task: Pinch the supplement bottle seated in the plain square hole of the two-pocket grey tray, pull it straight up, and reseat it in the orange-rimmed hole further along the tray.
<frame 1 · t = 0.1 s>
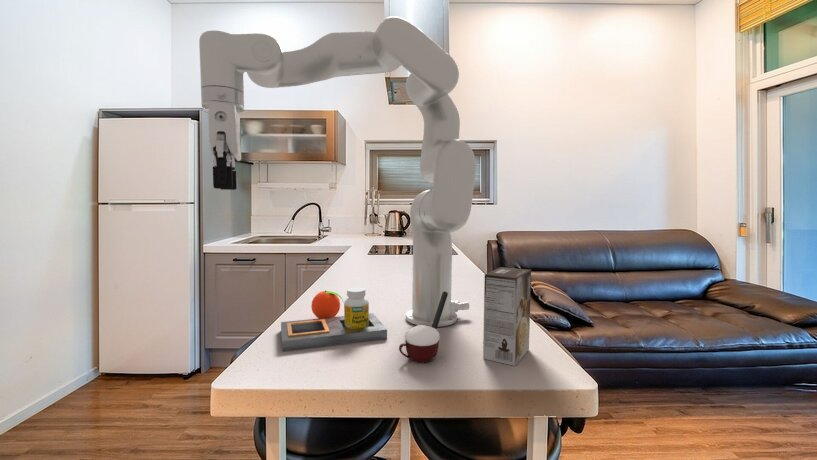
hand: (225, 189, 76), 31 cm above the kitchen island, fingers open, 9 cm apart
two-pocket grey tray: (332, 334, 82), on the kitchen island
supplement bottle: (356, 333, 84), resting in two-pocket grey tray
cocoa: (423, 359, 71), on the kitchen island
coffee box: (506, 355, 73), on the kitchen island
clementine: (328, 320, 93), on the kitchen island
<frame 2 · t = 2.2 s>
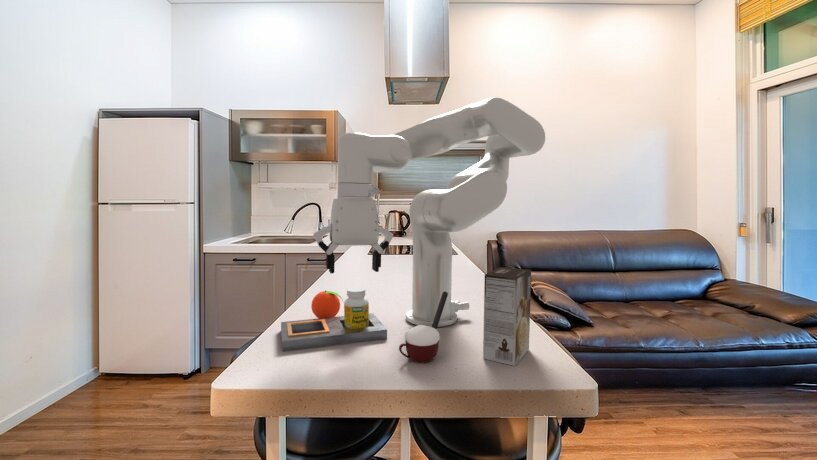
hand: (353, 271, 83), 14 cm above the kitchen island, fingers open, 9 cm apart
nothing on the kitchen island moved.
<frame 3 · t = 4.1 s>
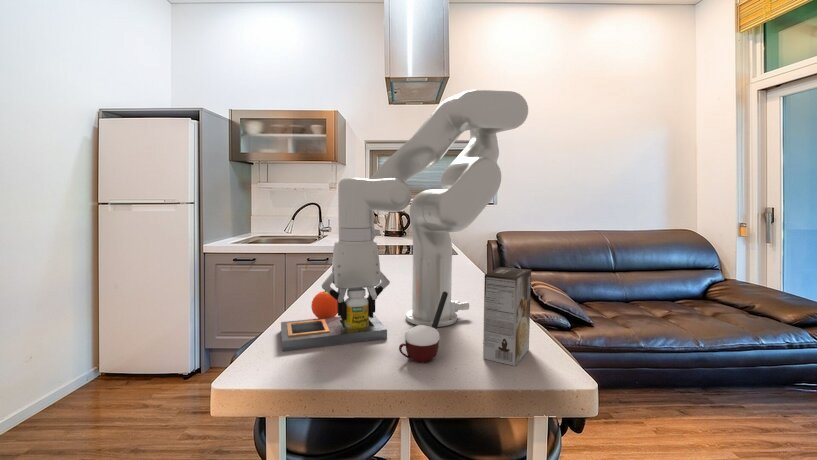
hand: (356, 316, 84), 3 cm above the kitchen island, fingers closed on supplement bottle, 5 cm apart
supplement bottle: (356, 332, 84), resting in two-pocket grey tray, touching gripper
everything else where it was.
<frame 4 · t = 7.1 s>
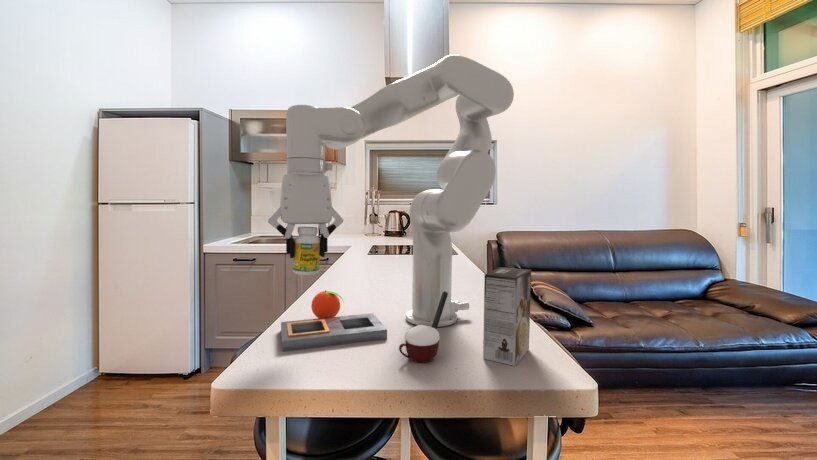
hand: (307, 255, 79), 17 cm above the kitchen island, fingers closed on supplement bottle, 5 cm apart
supplement bottle: (305, 273, 79), point 14 cm above the kitchen island, touching gripper
everything else where it was.
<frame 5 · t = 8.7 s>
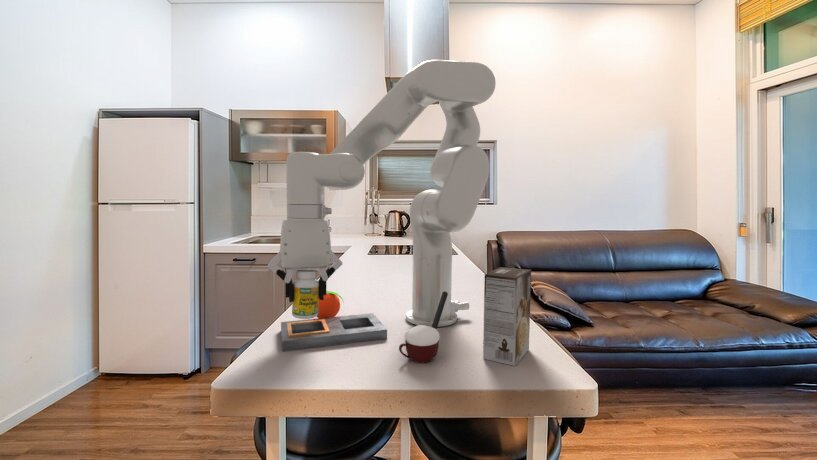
hand: (306, 298, 80), 8 cm above the kitchen island, fingers closed on supplement bottle, 5 cm apart
supplement bottle: (304, 316, 80), point 5 cm above the kitchen island, touching gripper
everything else where it was.
when the fingers open (4 cm above the kitchen island, at t = 10.3 s): supplement bottle stays where it is, resting in two-pocket grey tray.
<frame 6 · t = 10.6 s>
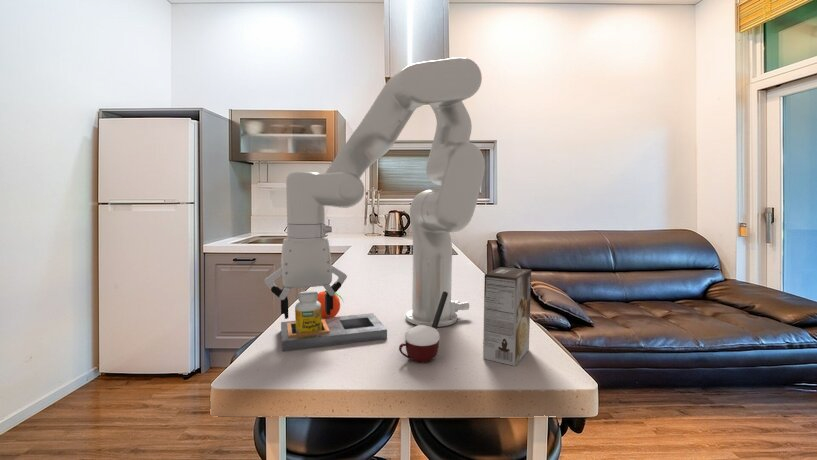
hand: (307, 314, 80), 5 cm above the kitchen island, fingers open, 8 cm apart
supplement bottle: (308, 338, 81), resting in two-pocket grey tray
everything else where it was.
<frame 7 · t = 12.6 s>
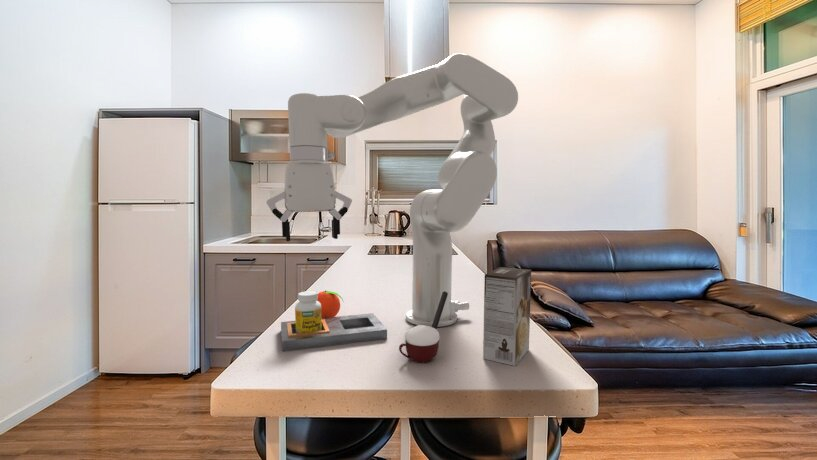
hand: (311, 239, 80), 21 cm above the kitchen island, fingers open, 9 cm apart
nothing on the kitchen island moved.
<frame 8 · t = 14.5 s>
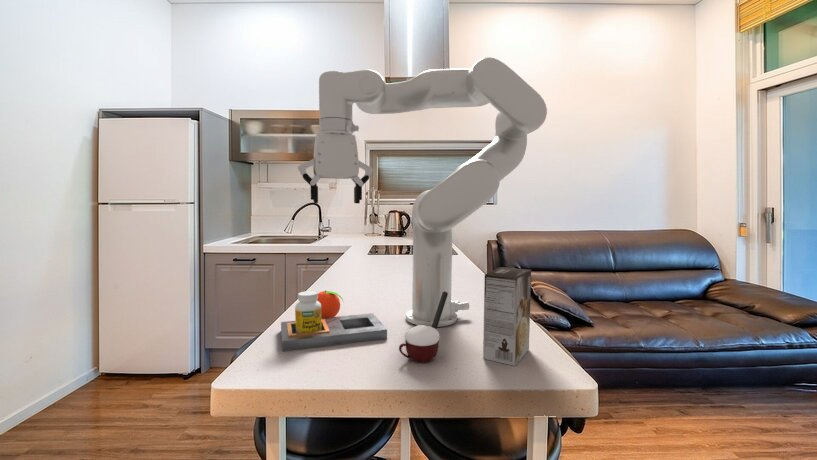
hand: (336, 203, 89), 28 cm above the kitchen island, fingers open, 9 cm apart
nothing on the kitchen island moved.
at the end: supplement bottle 0.2 cm from the target spot on the two-pocket grey tray, point 0.0 cm above the two-pocket grey tray's base; supplement bottle tilted 0°; the gripper is holding nothing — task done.
